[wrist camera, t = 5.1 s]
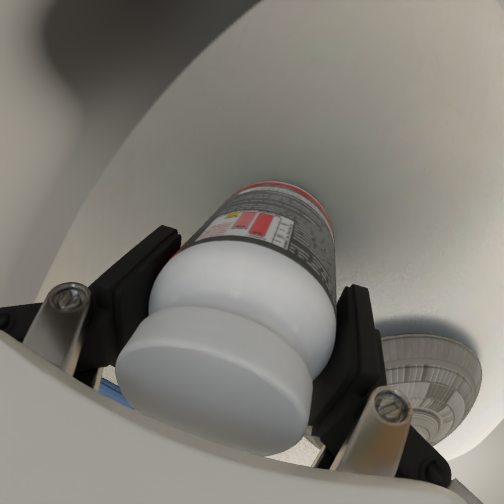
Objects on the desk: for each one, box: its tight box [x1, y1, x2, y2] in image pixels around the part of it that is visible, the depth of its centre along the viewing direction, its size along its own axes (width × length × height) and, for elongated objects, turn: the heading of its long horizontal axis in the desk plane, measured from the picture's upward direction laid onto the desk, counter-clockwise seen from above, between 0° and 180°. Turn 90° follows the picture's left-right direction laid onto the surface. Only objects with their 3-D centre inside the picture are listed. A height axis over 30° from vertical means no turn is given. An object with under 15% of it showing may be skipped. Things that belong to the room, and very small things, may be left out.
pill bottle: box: [115, 181, 337, 457], centre depth 10 cm, size 6×6×10 cm
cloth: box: [98, 377, 136, 411], centre depth 31 cm, size 13×10×1 cm
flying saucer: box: [304, 334, 482, 450], centre depth 17 cm, size 15×15×6 cm
